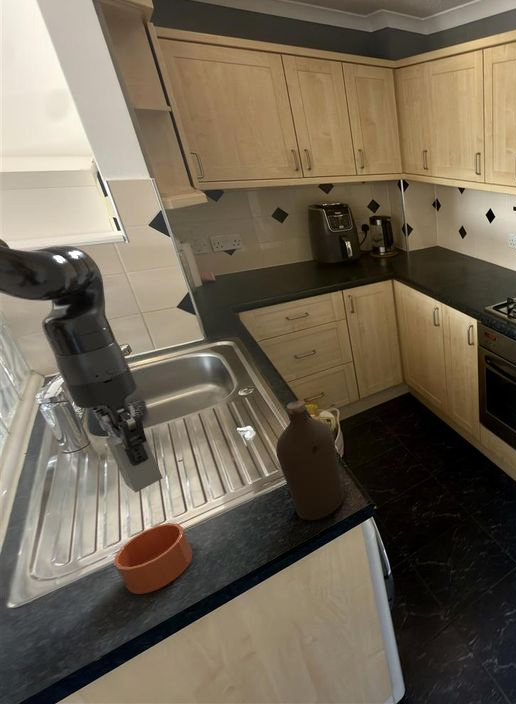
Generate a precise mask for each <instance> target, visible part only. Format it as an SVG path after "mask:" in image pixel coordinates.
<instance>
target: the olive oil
mask: <svg viewBox="0 0 516 704" xmlns="http://www.w3.org/2000/svg"><path fill="white" fill-rule="evenodd" d="M286 410H287V416H288V419H289V423H288V425H287V426H286V427H285V428H284V430H283V431H282V433H280V436H279V437H278V439H277V442H276V449H275V450H276V451H275V452H276V458H277V461H278V464H279V466H280V469H281V471H282V474H283V477H284V479H285V483H286V485H287V487H288V492H287V493H288V495H289V497H290V498H291V499H292V502H293V505H294V509H295V511H296V514H297V516H298V517H299V518H300V519H302V520H304V521H317V520H321V519H323V518H326V517H327V516H330V515H331V514H333V513H335V511H336V510H338V508H340V507H341V505H342V503H343V501H344V497H345V496H344V489H343V484H342V479H341V474H340V467H339V461H338V453H337V448H336V442H335V435H334V433H333V431H332V430H331V428H330V427H329V426H328V425H327V424H326V423H324V422H322V421H320V420H319V419H315V418H312V417H309V413H308V408H307V406H306V403H305V401H304V400H301V399H300V400H299V399H298V400H293V401H291V402H289V403H288V404H287V405H286Z"/></svg>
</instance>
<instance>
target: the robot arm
mask: <svg viewBox="0 0 516 704" xmlns="http://www.w3.org/2000/svg"><path fill="white" fill-rule="evenodd" d="M0 294H3V295H5V296H9V297H12V298H16V299H20V300H27V301H35V302H48V301H51V310H50V312H48V314H47V315H46V316H45V317H44V318H43V319H42V321H41V328H42V332H43V334H44V336H45V339H46V341H47V342H48V345H49V347H50V349H51V352H52V354H53V355H54V359H55V362H56V363H55V364H56V367H57V369H58V372H59V374H60V375H61V376H60V377H61V378H62V380H63V382H64V385H65V387H66V389H67V391H68V393H69V396H70V397H71V400H72V402H73V404H74V405H75V406H76V407H77V408H80V409H91V410H92V412H93V414H94V417H95V418H96V420H97V421H98V423H99V425H100V428H101V429H102V432H103V433H105V434H106V435H108V437H111V436H113V437H115V438H118V439H119V440H120V442H121V444H122V448H124V449H125V452H126V454H127V456H128V458H129V461H130V463H131V464H132V465H133V466H136V465H139V464H141V463H143V462H145V461H146V460H148V456H147V453H146V451H145V449H144V446H143V444H142V443H144V442H146V441H148V439H147V436H146V433H145V429H144V425H143V421H142V417H141V416H140V415H139V414H135V412H136V410H135V408H134V406H133V404H132V403H127V401H126V399H127V398H129V396H131V395H133V394H134V393H135V391H136V390H137V389H138V387H137V383H136V381H135V378H134V376H133V373H132V370H131V368H130V366H129V364H128V361H127V359H126V356H125V353H124V352H123V349H122V348H121V346H120V345H119V342H117V339H116V337H115V335H114V332H113V330H112V327H111V325H110V323H109V320H108V318H107V315H106V299H105V298H106V297H105V289H104V281H103V276H102V273H101V270H100V268H99V266H98V264H97V263H96V262H95V260H94V259H93V258H92V257H91V255H89V254H88V253H87V252H85V251H84V250H82V249H80V248H78V247H75V246H70V245H64V244H63V245H60V244H59V245H52V246H49V247H43V248H39V249H34V250H31V251H30V250H29V251H28V250H20V249H15V248H10V246H9V244H7V242H6V241H5V240H3V239H2V238H0ZM108 437H107V438H108ZM133 437H134V438H133ZM131 438H132V439H131ZM146 439H147V440H146Z"/></svg>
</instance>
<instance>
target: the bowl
mask: <svg viewBox="0 0 516 704" xmlns="http://www.w3.org/2000/svg"><path fill="white" fill-rule="evenodd" d="M192 560H193V550H192V546H191V544H190V542H189V539H188V537H187V534H186V533H185V530H184V528H183V526H182V525H180V524H178V523H175V522H174V523H172V522H167V523H162V524H158V525H155V526H152V527H151V528H148V529H146V530H143V531H142V532H140V533H138V534H137V535H135V536H133V537H132V538H131V539H129V540H128V541H127V542H126V543H124V545H122V546H121V548H119V550H118V552H117V553H116V555H115V556H114V561H113V565H114V567H115V569H116V571H117V573H118V575H119V577H120V579H121V582H122V583H123V584H124V586H125V588H126V589H127V591H128V592H130V594H135V595H143V594H148V593H152V592H154V591H157V590H159V589H161V588H163V587H166V586H167V585H168V584H170V583H172V582H174V581H175V580H176V579H177V578H178V577H180V576H181V575H182V574H183V573H184V571H185V570H187V568H188V567H189V565H190V564H191V562H192Z"/></svg>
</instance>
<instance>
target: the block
mask: <svg viewBox="0 0 516 704" xmlns="http://www.w3.org/2000/svg"><path fill="white" fill-rule="evenodd" d="M133 438H134V437H133ZM131 439H132V438H131ZM146 440H147V441H146V442H144V443H142V444H143V446H144V449H145V451H146V453H147V456H148V460H146V461H145V462H143V463H141V464H139V465H136V466H133V465H132V464H131V463H130V461H129V458H128V456H127V454H126V452H125V449H124V448H122V444H121V442H120V440H119V439H118V438H115V437H113V436H111V437H106V438H105V442H106V444H107V446H108V449H109V451H110V453H111V455H112V457H113V459H114V461H115V464H116V466H117V468H118V470H119V472H120V475H121V478H122V479H123V481H124V483H125V485H126V487H128V488H129V489H131V491H133V492H134V493H138V492H140V491H142V490H144V489H146V488H148V487H149V486H151V485H154V484H155V483H157V482H159V481H160V480H162V479H163V478H164V477H163V475H162V473H161V470H160V468H159V465H158V463H157V461H156V458H155V456H154V453H153V451H152V448H151V446H150V444H149V441H148V439H146Z"/></svg>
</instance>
